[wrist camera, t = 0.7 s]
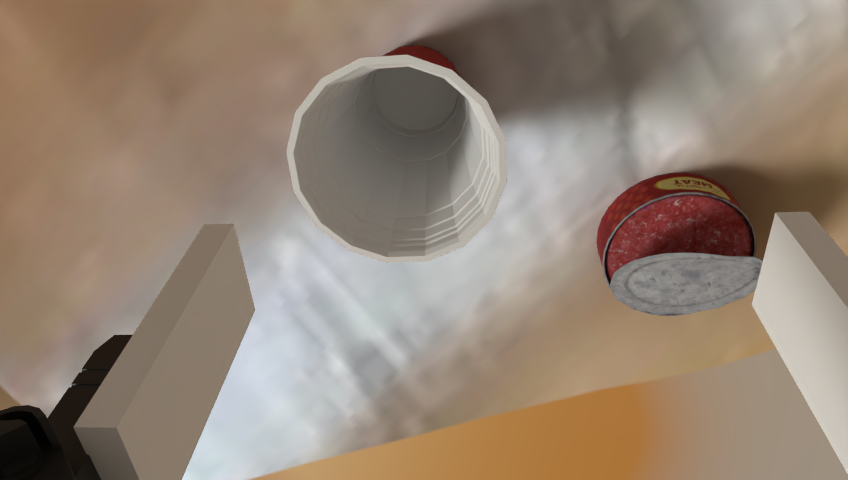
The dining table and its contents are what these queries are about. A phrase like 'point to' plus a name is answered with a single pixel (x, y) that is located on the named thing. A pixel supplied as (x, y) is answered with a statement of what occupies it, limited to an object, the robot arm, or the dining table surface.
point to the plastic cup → (398, 157)
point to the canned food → (677, 246)
